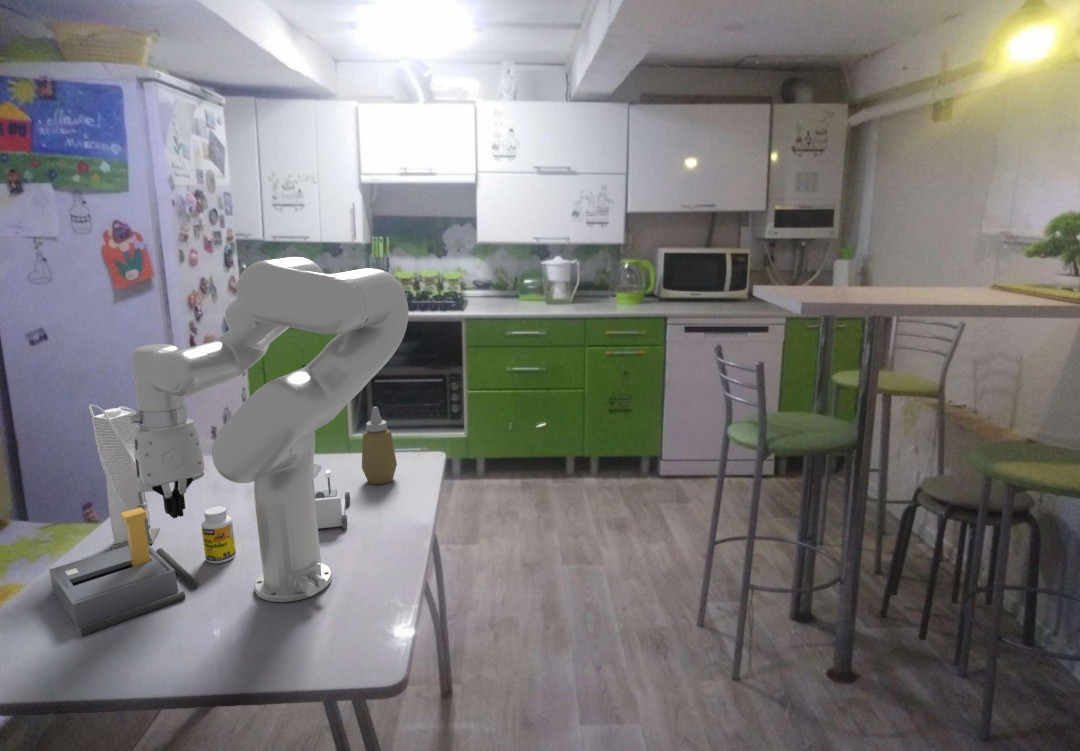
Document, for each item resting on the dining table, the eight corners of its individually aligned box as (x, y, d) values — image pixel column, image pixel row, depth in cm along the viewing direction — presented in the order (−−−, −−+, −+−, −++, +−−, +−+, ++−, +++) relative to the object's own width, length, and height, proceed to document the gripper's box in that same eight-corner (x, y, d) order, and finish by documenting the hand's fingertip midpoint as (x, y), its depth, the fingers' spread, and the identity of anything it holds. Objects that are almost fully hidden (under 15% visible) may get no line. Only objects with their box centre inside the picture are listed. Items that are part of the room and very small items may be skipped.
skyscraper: (103, 550, 139) (79, 410, 133) (114, 533, 147) (92, 399, 140) (152, 544, 142) (131, 405, 135) (160, 527, 149) (141, 395, 143)
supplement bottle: (202, 565, 133) (195, 517, 131) (210, 552, 138) (204, 505, 136) (232, 563, 134) (226, 514, 131) (239, 550, 139) (233, 503, 136)
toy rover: (292, 461, 159) (347, 456, 162) (297, 503, 162) (350, 498, 164) (281, 492, 142) (343, 486, 144) (286, 538, 144) (347, 532, 147)
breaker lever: (154, 565, 127) (146, 511, 125) (134, 571, 125) (125, 517, 123) (149, 560, 129) (140, 507, 127) (129, 566, 127) (120, 512, 125)
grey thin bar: (185, 599, 122) (184, 592, 121) (83, 636, 111) (82, 629, 111) (183, 596, 122) (182, 590, 122) (81, 633, 112) (80, 626, 112)
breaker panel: (178, 591, 124) (174, 569, 123) (77, 627, 114) (72, 603, 113) (147, 560, 135) (144, 540, 134) (53, 590, 125) (49, 568, 124)
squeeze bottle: (404, 478, 174) (400, 405, 170) (380, 489, 167) (375, 414, 163) (380, 472, 178) (375, 401, 174) (355, 482, 171) (349, 409, 167)
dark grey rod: (199, 586, 125) (198, 580, 125) (191, 589, 125) (191, 583, 124) (163, 553, 138) (162, 547, 138) (156, 555, 137) (155, 549, 137)
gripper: (122, 430, 118) (136, 534, 122) (216, 412, 128) (226, 509, 133) (109, 420, 123) (123, 521, 128) (200, 403, 133) (210, 497, 138)
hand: (175, 514), depth 130 cm, fingers closed
